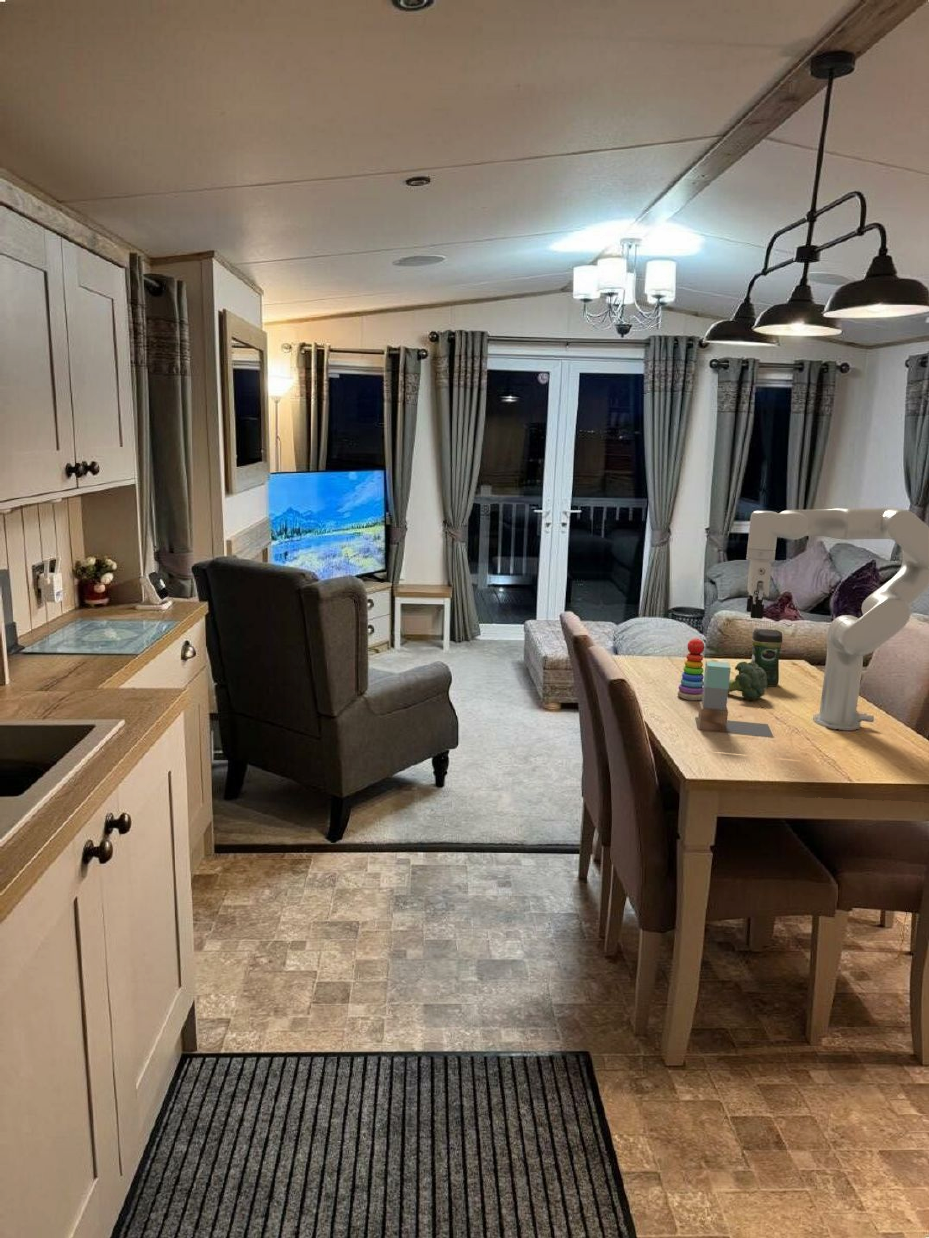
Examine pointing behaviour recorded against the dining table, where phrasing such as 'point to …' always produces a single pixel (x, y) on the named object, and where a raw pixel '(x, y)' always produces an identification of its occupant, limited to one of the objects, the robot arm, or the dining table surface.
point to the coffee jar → (767, 653)
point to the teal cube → (717, 675)
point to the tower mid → (714, 698)
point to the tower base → (712, 719)
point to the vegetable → (749, 681)
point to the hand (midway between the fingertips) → (754, 615)
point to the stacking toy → (693, 672)
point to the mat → (745, 728)
